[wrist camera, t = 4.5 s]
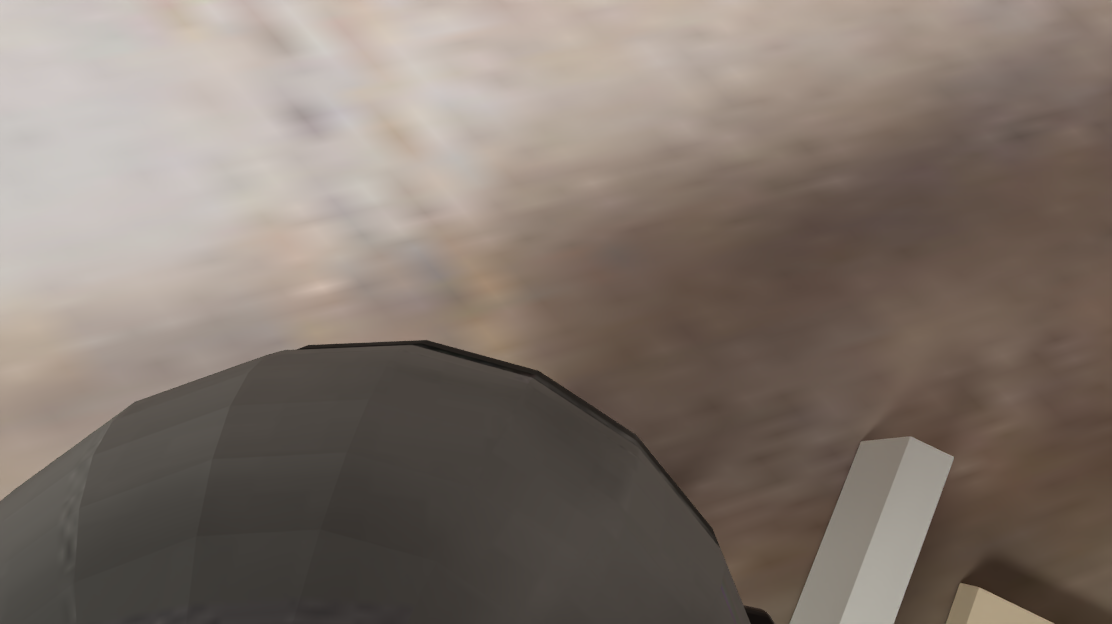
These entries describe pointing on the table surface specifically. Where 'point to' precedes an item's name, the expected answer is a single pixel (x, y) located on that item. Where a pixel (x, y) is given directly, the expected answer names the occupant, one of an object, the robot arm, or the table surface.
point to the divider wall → (874, 534)
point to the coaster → (987, 609)
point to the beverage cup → (361, 505)
